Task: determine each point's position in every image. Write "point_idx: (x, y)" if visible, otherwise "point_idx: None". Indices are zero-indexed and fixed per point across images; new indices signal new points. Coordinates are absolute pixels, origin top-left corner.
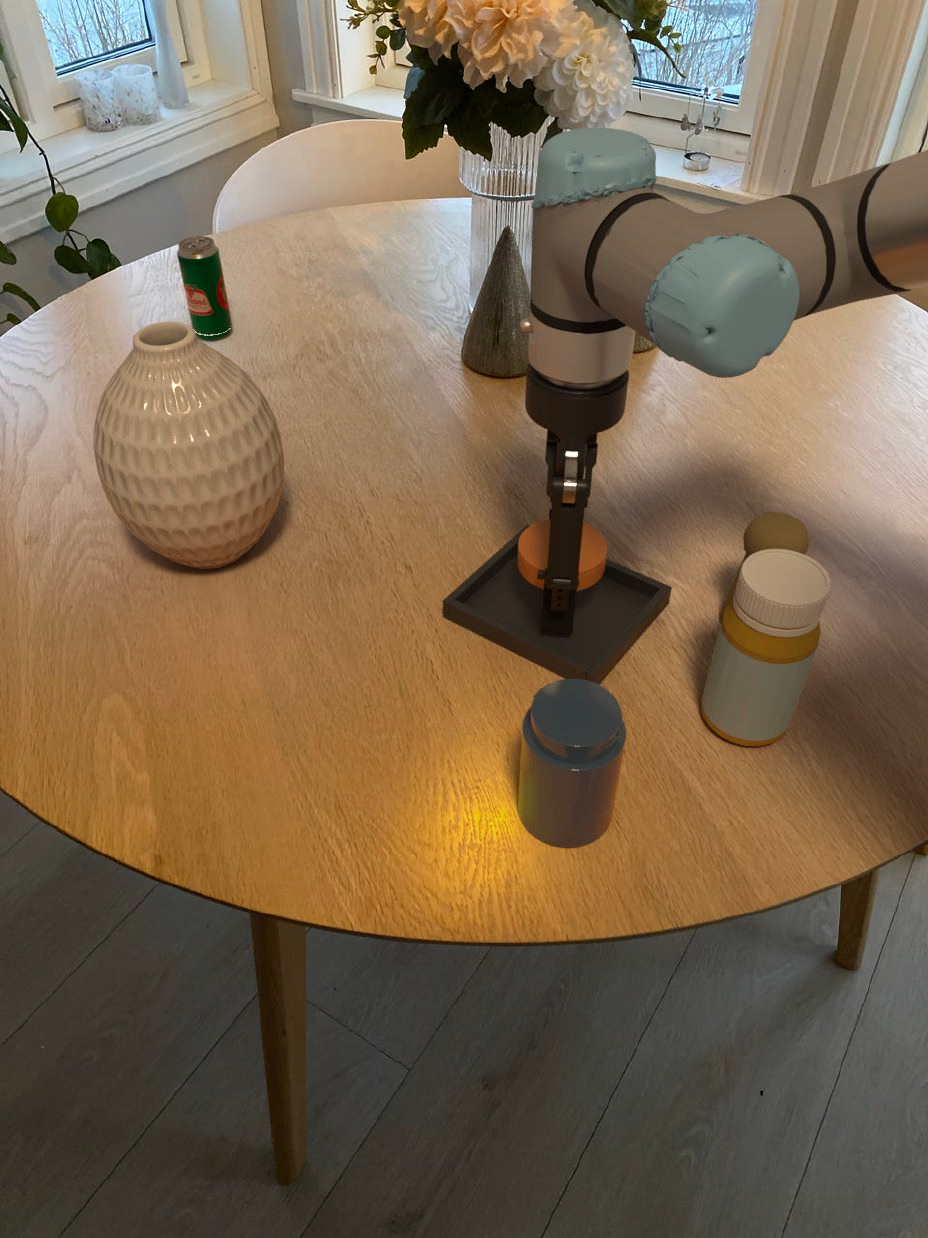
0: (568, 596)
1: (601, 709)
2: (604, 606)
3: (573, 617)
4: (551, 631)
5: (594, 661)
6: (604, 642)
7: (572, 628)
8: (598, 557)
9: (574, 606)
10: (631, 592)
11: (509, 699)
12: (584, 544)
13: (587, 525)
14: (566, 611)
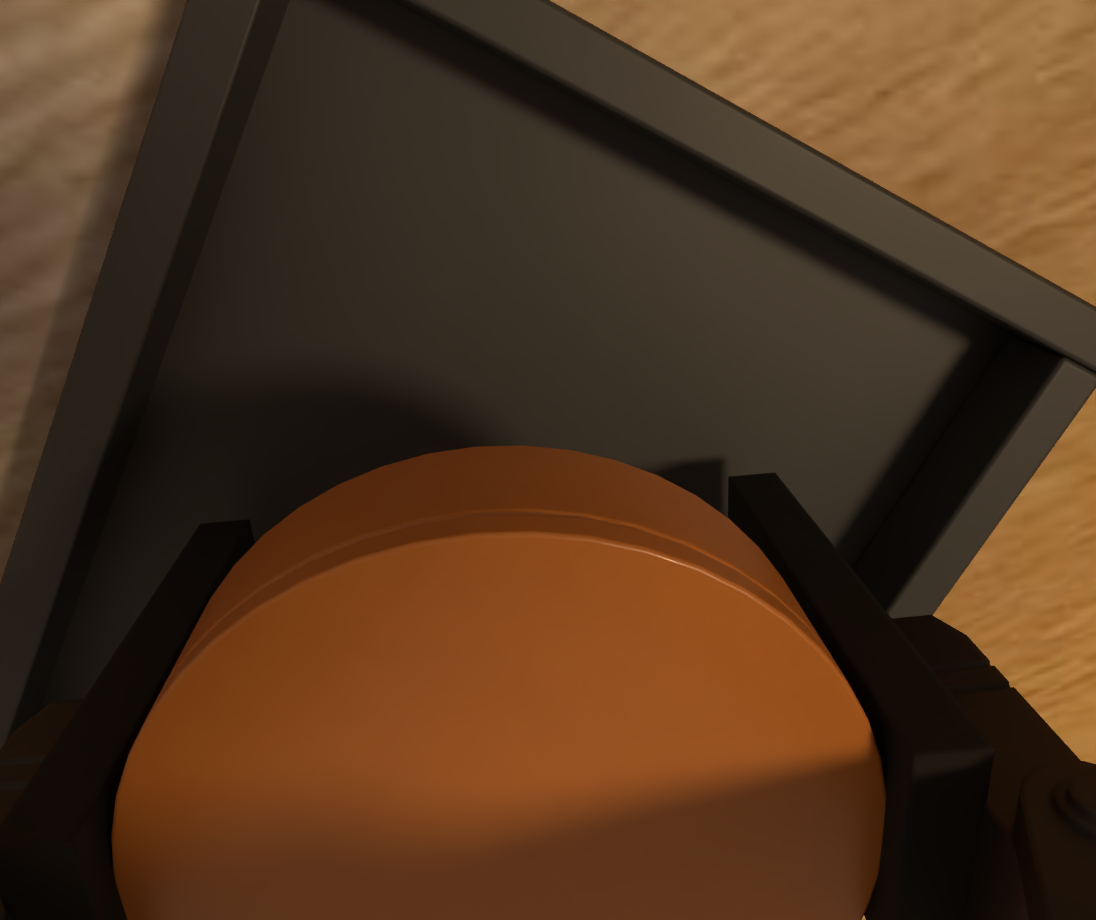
0: (1035, 711)
1: None
2: (442, 304)
3: (818, 528)
4: None
5: (890, 322)
6: (742, 281)
7: (786, 490)
8: (640, 595)
9: (849, 572)
10: (275, 147)
11: (1076, 639)
12: (464, 726)
13: (161, 737)
14: (935, 623)
